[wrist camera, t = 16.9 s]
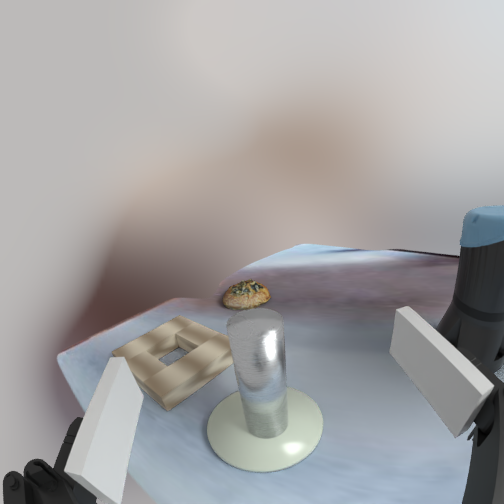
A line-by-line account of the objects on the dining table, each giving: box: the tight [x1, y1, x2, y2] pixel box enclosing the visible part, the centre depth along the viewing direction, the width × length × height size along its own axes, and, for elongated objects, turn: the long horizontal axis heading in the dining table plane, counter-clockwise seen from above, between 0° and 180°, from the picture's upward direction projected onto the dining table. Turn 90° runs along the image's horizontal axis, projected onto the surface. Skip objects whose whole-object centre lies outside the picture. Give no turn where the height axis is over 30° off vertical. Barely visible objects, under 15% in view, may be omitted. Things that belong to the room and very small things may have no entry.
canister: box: [227, 308, 288, 439], centre depth 26 cm, size 5×5×15 cm
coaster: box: [207, 387, 323, 473], centre depth 28 cm, size 14×14×1 cm
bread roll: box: [223, 279, 271, 310], centre depth 63 cm, size 11×11×5 cm
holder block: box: [112, 315, 233, 411], centre depth 42 cm, size 16×16×3 cm
